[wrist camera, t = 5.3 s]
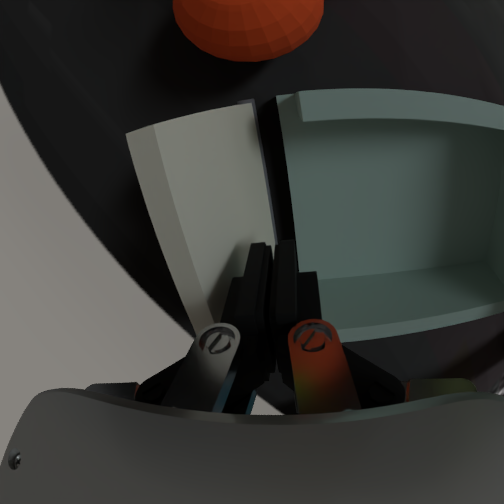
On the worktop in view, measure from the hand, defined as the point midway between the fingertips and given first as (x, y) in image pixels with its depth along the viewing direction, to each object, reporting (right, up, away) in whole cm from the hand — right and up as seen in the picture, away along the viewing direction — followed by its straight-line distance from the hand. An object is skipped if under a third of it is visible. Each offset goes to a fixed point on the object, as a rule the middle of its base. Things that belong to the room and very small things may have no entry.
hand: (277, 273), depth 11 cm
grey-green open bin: (+9, +5, +5) cm, 12 cm away
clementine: (-1, +15, 0) cm, 15 cm away
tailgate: (0, +3, +5) cm, 6 cm away
